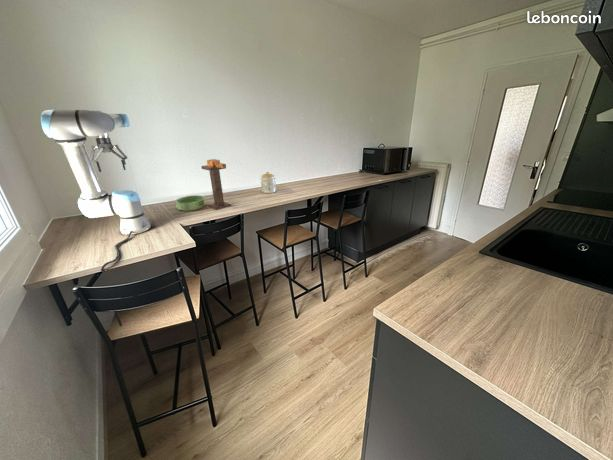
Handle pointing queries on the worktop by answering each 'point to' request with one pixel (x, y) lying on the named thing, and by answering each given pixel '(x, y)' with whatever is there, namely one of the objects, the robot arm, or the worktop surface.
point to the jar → (268, 183)
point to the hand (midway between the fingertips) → (112, 170)
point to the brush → (215, 163)
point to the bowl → (190, 203)
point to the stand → (216, 188)
